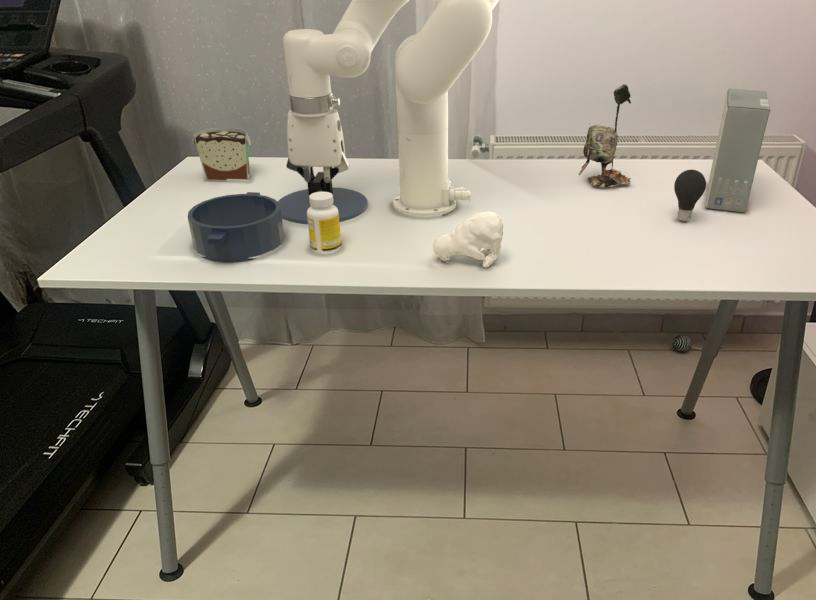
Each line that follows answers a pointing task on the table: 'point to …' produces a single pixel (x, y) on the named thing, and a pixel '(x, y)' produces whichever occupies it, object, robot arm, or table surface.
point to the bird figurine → (605, 147)
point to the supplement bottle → (323, 223)
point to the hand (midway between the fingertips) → (321, 199)
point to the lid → (343, 199)
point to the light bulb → (688, 192)
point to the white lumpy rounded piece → (473, 239)
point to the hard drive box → (737, 149)
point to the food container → (223, 153)
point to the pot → (236, 227)
